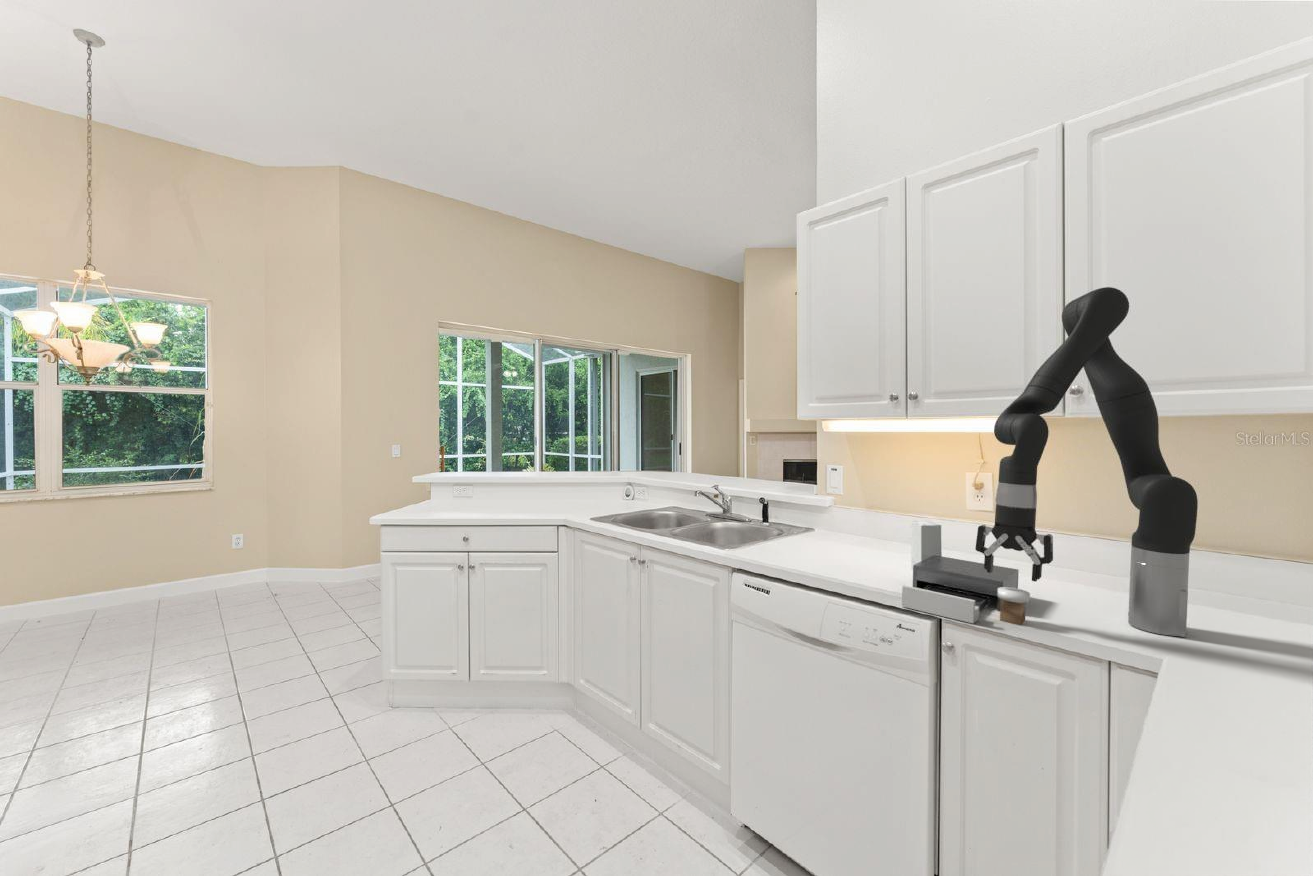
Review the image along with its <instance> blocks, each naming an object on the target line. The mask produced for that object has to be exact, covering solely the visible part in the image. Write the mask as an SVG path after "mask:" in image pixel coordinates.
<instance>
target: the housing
mask: <svg viewBox="0 0 1313 876" xmlns="http://www.w3.org/2000/svg"><path fill="white" fill-rule="evenodd" d="M1019 572H1020V571H1019V569H1018V568H1013V567H1012V568H1011V567H1005V566H1002V565H1001V566H1000V565H995V564H993V572H991V573H988V572H987V570H986V569H985V568H984V562H983V563H982V562H977V561H971V560H966V559H959V558H951V557H948V556H943V555H942V556H936V555H933V556H931V557H929V558H927V559H925V560H923V561H921V562H919V563H917V564H915V565H913V570H912V587H915V588H920V589H927V588H928V587H930V586H932V585H933V584H935V585H936V584H937V585H941V586H945V587H950V588H956V589H961V590H965V591H971V592H975V593H978V594H979V593H980V594H985V595H989V596H994V597H997V608H996V609H997V610H996V611H997V612H1000V604H1001V598H999V597H998V596H997V594H998V588H1000V587H1010V588H1017V589H1019Z"/></svg>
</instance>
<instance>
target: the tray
mask: <svg viewBox="0 0 1313 876" xmlns="http://www.w3.org/2000/svg"><path fill="white" fill-rule="evenodd" d="M901 589H902V590H901V591H902V593H901V596H902V597H901V607H902V608H908V609H910V610H915V611H920V612H923V613H929V614H932V615H936V616H940V617H945V618H948V619H953V620H957V621H961V622H965V623H970V624H974V623H976V622H977V621H978V620H979V619H980V613H981V612H982V611H983V610H984V609H985V608H986V607H987V606H989V605H990V597H989V596H984V595H980V594H974V593H971V592H965V591H961V590H960V591H959V590H956V589H951V588H947V587H942V586H938V585H929V586H927V587H926V588H924V589H920V588H915V587H913V586H910V585H906V584H904V585H902V588H901Z"/></svg>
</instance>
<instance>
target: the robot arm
mask: <svg viewBox="0 0 1313 876" xmlns="http://www.w3.org/2000/svg"><path fill="white" fill-rule="evenodd" d="M1129 310H1130V302H1129V298H1128V297H1127V295H1126V293H1124V292H1123V291H1122V290H1120V289H1118V288H1115V287H1112V286H1111V287H1110V286H1109V287H1108V286H1106V287H1100V288H1097V289H1094V290H1091V291H1089V292H1087V293H1085V294H1083V295H1082V296H1078V297H1077V298H1074V299H1073V300H1071V301H1069V302H1068V303H1067V304H1066V305H1065V306H1064V308H1063V310H1062V312H1061V322H1062V326H1063V328H1064V331H1065V332H1066V335H1067V338H1066V339H1065V340H1064V342H1063V343H1062V344H1061V345H1060V346H1059V347H1058V348H1057V349H1056V350H1055V351H1054V352H1053V353H1052V354H1051V355H1050V356H1049V357H1048V358H1047V359H1046V360H1045V361H1044V362H1043V363H1042V364H1041V366H1040V367H1039V368H1038V369H1037V371H1035V373H1034V375H1033V376H1032V378H1031V379H1030V381H1029V382H1028V384H1027V385H1026V387H1025V388H1024V390H1023V392H1022V393H1021V394H1020V395H1019V396H1018V397H1017V398H1016V399H1015V400H1014V401H1012V402H1011V403H1010V404H1009V405H1008V406H1007V407H1006V408H1005V409H1004V410H1003V411H1002V412H1001V413H1000V415H999V416H998V417H997V419H996V421H995V423H994V427H993V432H994V433H993V435H994V436H995V439H996V440H997V441H998V442H1000V443H1001V444H1004V445H1009V446H1014V448H1013V451H1012V454H1011V455H1008V456H1005V457H1002V458H1001V459H1000V461H999V467H998V470H999V471H998V484H997V489H996V493H995V495H996V496H995V509H994V511H995V512H994V513H995V514H994V525H993V526H992V527H991V526H987V525H985V524H981V525H979V526H978V527H977V535H976V539H975V540H976V541H975V551H977V552H979V553H981V554H983V555H984V562H983V564H984V568H985V569H986V570H987V572H988V573H991V572H993V565H994V558H995V556H994V555H993V554H994V553H995V552H996V551H997V550H998V549H999V548H1000V547H1002V548H1003V549H1005V550H1015V551H1018V552H1021V551H1024V552H1025V554H1026V555H1027V556H1028V557H1029V558H1030V560H1031V561H1032V562H1033V563H1032V566H1031V567H1032V571H1031V581H1032V582H1037V581H1038V580H1040V579H1041V578H1042V571H1043V569H1042V568H1043V565H1045V564H1048V565H1049V564H1051V563H1052V562H1054V538H1053V535H1052V534H1051V533H1047V534H1041V533H1040V534H1039V533H1037V531H1036V518H1037V503H1038V491H1037V481H1038V480H1037V479H1038V478H1037V477H1038V466H1039V463H1040V461H1041V459H1042V456H1043V454H1044V451H1045V447H1046V446H1047V442H1048V438H1049V426H1048V423H1047V421H1046V420H1045V418H1044V417H1042V415H1044V414H1049V413H1051V412H1052V411H1054V410H1055V409H1056V408H1057V406H1058V405H1059V404H1060V403H1061V401H1062V399H1063V398H1064V397H1065V395H1066V394H1067V391H1068V389H1070V387H1071V385H1072V383H1073V382H1074V381H1075V379H1076V378H1077V376H1078V375H1079V374H1080V372H1081V370H1082V369H1084V371H1085V372H1084V373H1085V374H1086V378H1087V380H1088V383H1089V384H1090V385H1089V386H1090V387H1091V389H1092V392H1093V396H1094V398H1095V401H1096V404H1097V407H1098V409H1099V413H1100V415H1101V417H1102V420H1103V423H1104V424H1105V428H1106V429H1107V432H1108V435H1109V438H1110V439H1111V442H1112V444H1113V446H1114V449H1115V451H1116V453H1117V455H1118V458H1119V461H1120V465H1121V468H1122V472H1123V476H1124V481H1125V486H1126V489H1127V494H1128V497H1129V500H1130V502H1131V504H1132V505H1133V506H1134V508H1136V509H1137V510H1139V514H1138V516H1139V517H1138V526H1137V528H1136V530H1135V532H1133V533H1132V534H1131V535H1132V536H1131V544H1130V545H1131V547H1130V548H1131V549H1130V570H1129V590H1128V591H1129V593H1128V596H1129V597H1128V612H1127V622H1128V624H1129V625H1130V626H1132V627H1134V628H1137V629H1140V630H1142V631H1145V632H1149V633H1153V634H1159V635H1162V636H1163V635H1164V636H1172V637H1173V636H1175V637H1182V638H1187V625H1188V624H1187V619H1188V599H1189V597H1188V595H1189V569H1190V567H1189V565H1190V551H1191V545H1192V543H1193V541H1194V539H1195V536H1196V528H1197V519H1198V518H1197V517H1198V504H1199V503H1198V495H1197V492H1196V490H1195V488H1194V487H1193V486H1192V484H1190V483H1189V482H1188V481H1186V480H1185V479H1183V478H1180V477H1178V476H1173V475H1172V473H1171V471H1170V469H1169V468H1168V466H1167V463H1166V461H1165V458H1164V457H1163V454H1162V452H1161V451H1162V450H1161V447H1160V442H1159V441H1160V438H1159V433H1160V431H1159V430H1160V428H1159V425H1160V424H1159V413H1158V410H1157V406H1156V403H1155V400H1154V398H1153V395H1152V393H1151V390H1150V388H1149V385H1148V383H1147V382H1146V380H1145V379H1144V378H1143V377H1142V376H1141V375H1140V374H1139V373H1138V372H1137V371H1136V370H1135V369H1134V368H1133V367H1132V366H1131V365H1129V363H1127V362H1126V361H1125V360H1124V359H1122V358H1121V357H1120V356H1119V354H1118V353H1117V351H1116V350H1115V348H1114V346H1113V344H1112V341H1111V339H1110V338H1109V336H1111V335H1112V333H1114V332H1115V331H1116V330H1117V328H1118V327H1119V326H1120V325H1121V324H1122V323H1123V322H1124V320H1125V319H1126V317H1128V314H1129ZM990 533H991V534H992V535H993V537H994V539H995V541H994V542H993V543H992V544H990V545H989V547H988V548H987V547H986V546H985V545H986V538H987V536H989V535H990ZM1036 540H1039V543H1040V544H1041V545H1042V546H1043V557H1041V555H1040V554H1039V553H1038V550H1037V549H1036V547H1035V546H1034V545H1033V543H1034V542H1035V541H1036Z"/></svg>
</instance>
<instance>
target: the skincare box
mask: <svg viewBox="0 0 1313 876" xmlns="http://www.w3.org/2000/svg"><path fill="white" fill-rule="evenodd" d="M910 524H911V525H910V530H911V532H910V533H911V535H910V536H911V537H910V539H911V540H910V543H911V544H910V545H911V551H910V552H911V557H910V558H911V560H910V561H911V568H910V569H911V570H912V571H913V565H915V564H917V563H919V562H921V561H923V560H925V559H927V558H929V557H931V556H933V555H936V556H942V557H943V555H942V553H943V552H942V524H939V523H937V522H933V521H930V520H929V521H928V520H920V521H917V520H916V521H915V520H913V521H911V523H910Z"/></svg>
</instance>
